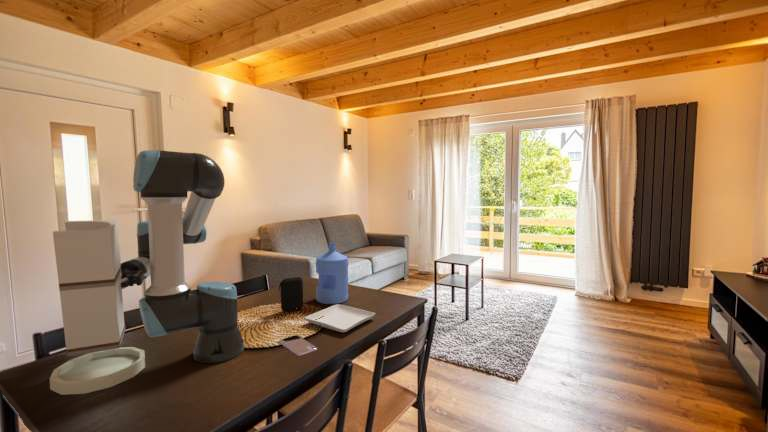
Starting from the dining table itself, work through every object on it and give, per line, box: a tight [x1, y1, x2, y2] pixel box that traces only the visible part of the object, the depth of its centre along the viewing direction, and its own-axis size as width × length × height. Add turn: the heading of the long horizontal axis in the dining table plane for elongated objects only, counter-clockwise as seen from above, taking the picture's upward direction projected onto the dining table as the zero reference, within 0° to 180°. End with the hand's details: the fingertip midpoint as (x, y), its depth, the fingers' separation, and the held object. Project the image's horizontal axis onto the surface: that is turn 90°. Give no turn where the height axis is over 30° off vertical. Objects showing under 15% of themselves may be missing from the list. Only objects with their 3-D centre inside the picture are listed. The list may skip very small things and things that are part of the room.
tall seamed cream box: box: [52, 219, 126, 357], centre depth 98 cm, size 11×11×35 cm
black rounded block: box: [278, 276, 304, 312], centre depth 155 cm, size 11×3×15 cm, turn 117°
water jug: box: [315, 242, 349, 305], centre depth 170 cm, size 16×16×28 cm
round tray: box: [49, 346, 146, 396], centre depth 102 cm, size 21×21×3 cm
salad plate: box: [304, 303, 376, 333], centre depth 143 cm, size 21×21×3 cm
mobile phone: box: [278, 334, 318, 357], centre depth 121 cm, size 8×1×15 cm
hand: (86, 288), depth 97 cm, fingers closed on tall seamed cream box, 12 cm apart
